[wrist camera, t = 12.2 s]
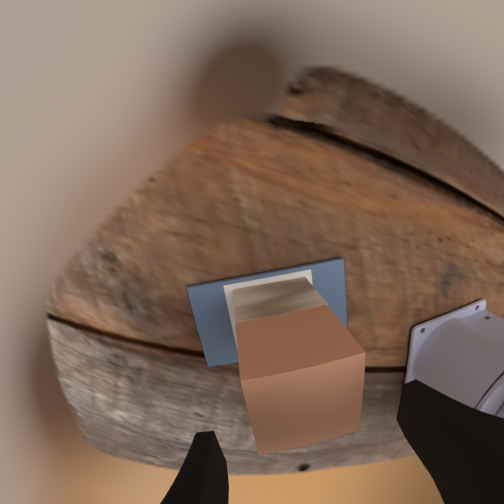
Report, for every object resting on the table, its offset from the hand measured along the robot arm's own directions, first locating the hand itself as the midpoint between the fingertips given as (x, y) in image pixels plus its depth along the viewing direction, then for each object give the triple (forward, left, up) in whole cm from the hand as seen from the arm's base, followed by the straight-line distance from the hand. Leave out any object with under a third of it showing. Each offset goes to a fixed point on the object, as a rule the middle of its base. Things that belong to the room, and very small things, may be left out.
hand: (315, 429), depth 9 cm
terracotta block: (0, 0, -5) cm, 5 cm away
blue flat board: (0, 0, -10) cm, 10 cm away
